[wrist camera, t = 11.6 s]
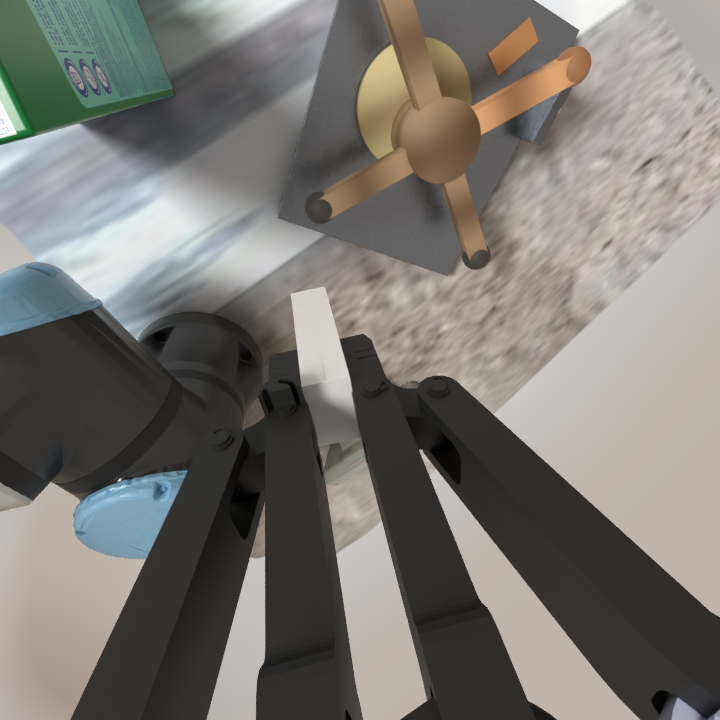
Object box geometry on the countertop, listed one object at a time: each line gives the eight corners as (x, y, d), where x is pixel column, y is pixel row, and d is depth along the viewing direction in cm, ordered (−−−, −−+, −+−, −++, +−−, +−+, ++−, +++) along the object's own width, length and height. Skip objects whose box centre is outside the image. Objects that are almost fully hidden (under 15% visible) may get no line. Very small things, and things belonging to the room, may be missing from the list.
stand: (449, 272, 49) (465, 293, 44) (278, 213, 42) (277, 231, 38) (576, 35, 37) (616, 31, 33) (366, -102, 30) (380, -130, 26)
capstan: (565, 189, 43) (611, 209, 37) (358, 295, 47) (370, 329, 41) (517, -136, 29) (578, -188, 23) (224, 53, 32) (211, 51, 27)
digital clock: (333, 443, 63) (341, 502, 55) (302, 407, 58) (306, 466, 49) (428, 398, 61) (452, 453, 52) (405, 356, 55) (428, 409, 47)
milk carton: (117, -51, 30) (-227, -288, 10) (176, 94, 35) (34, 136, 15) (-4, -19, 30) (-602, -192, 10) (73, 121, 35) (-205, 198, 15)
